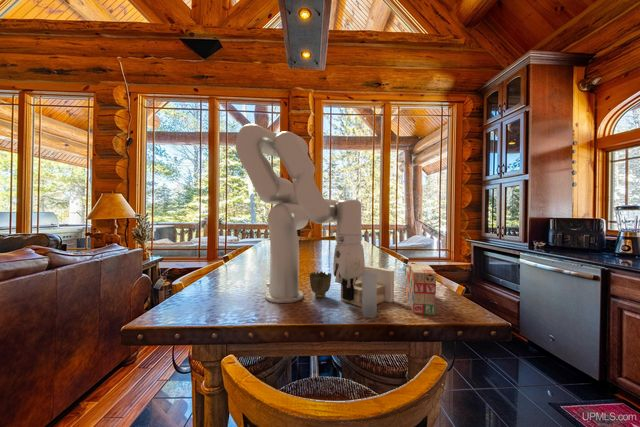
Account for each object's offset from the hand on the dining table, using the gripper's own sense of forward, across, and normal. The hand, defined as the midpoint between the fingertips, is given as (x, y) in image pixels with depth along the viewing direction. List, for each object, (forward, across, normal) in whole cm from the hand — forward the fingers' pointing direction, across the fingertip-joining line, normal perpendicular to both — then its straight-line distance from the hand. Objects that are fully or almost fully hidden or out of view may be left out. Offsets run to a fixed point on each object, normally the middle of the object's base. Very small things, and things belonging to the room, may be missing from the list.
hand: (348, 299), depth 89 cm
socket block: (+2, +7, 0) cm, 8 cm away
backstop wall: (+2, +14, +3) cm, 14 cm away
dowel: (+2, -1, -9) cm, 9 cm away
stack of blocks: (+3, +20, -13) cm, 24 cm away
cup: (+2, 0, +12) cm, 12 cm away
